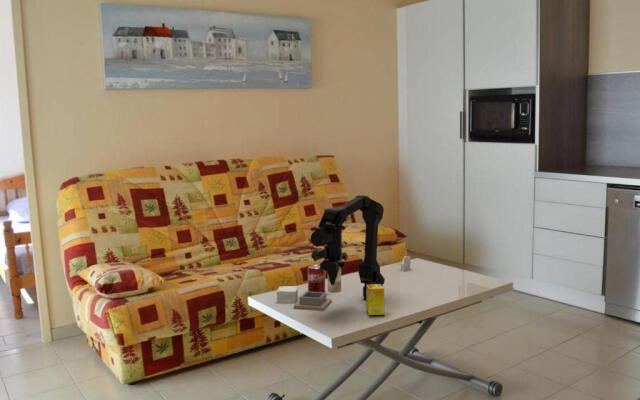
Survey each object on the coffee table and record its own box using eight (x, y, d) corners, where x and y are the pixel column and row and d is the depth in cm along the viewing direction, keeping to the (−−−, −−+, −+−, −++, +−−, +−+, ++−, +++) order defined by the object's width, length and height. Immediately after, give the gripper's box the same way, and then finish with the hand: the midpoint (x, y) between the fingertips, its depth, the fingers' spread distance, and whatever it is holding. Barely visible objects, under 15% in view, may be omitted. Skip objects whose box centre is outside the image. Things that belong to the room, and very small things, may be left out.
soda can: (323, 297, 248) (323, 269, 246) (306, 296, 249) (306, 268, 248) (326, 292, 255) (326, 264, 253) (310, 291, 256) (309, 264, 255)
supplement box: (365, 312, 228) (365, 284, 226) (381, 311, 228) (381, 283, 227) (368, 317, 222) (368, 288, 220) (384, 316, 222) (384, 288, 221)
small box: (296, 303, 240) (295, 291, 239) (276, 303, 240) (276, 291, 240) (298, 298, 247) (297, 286, 247) (279, 297, 248) (279, 286, 247)
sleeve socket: (331, 301, 241) (331, 291, 240) (323, 310, 230) (323, 300, 229) (303, 299, 244) (303, 289, 244) (293, 308, 233) (293, 298, 232)
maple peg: (342, 289, 227) (342, 266, 226) (339, 293, 222) (339, 269, 221) (329, 288, 228) (329, 265, 227) (326, 292, 223) (326, 268, 222)
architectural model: (398, 271, 290) (398, 256, 290) (405, 269, 296) (405, 254, 295) (404, 272, 288) (404, 257, 287) (411, 270, 294) (411, 255, 293)
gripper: (320, 236, 234) (320, 275, 236) (306, 246, 216) (306, 288, 218) (348, 238, 231) (348, 277, 233) (335, 247, 213) (336, 290, 215)
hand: (334, 283), depth 225 cm, fingers closed on maple peg, 5 cm apart
